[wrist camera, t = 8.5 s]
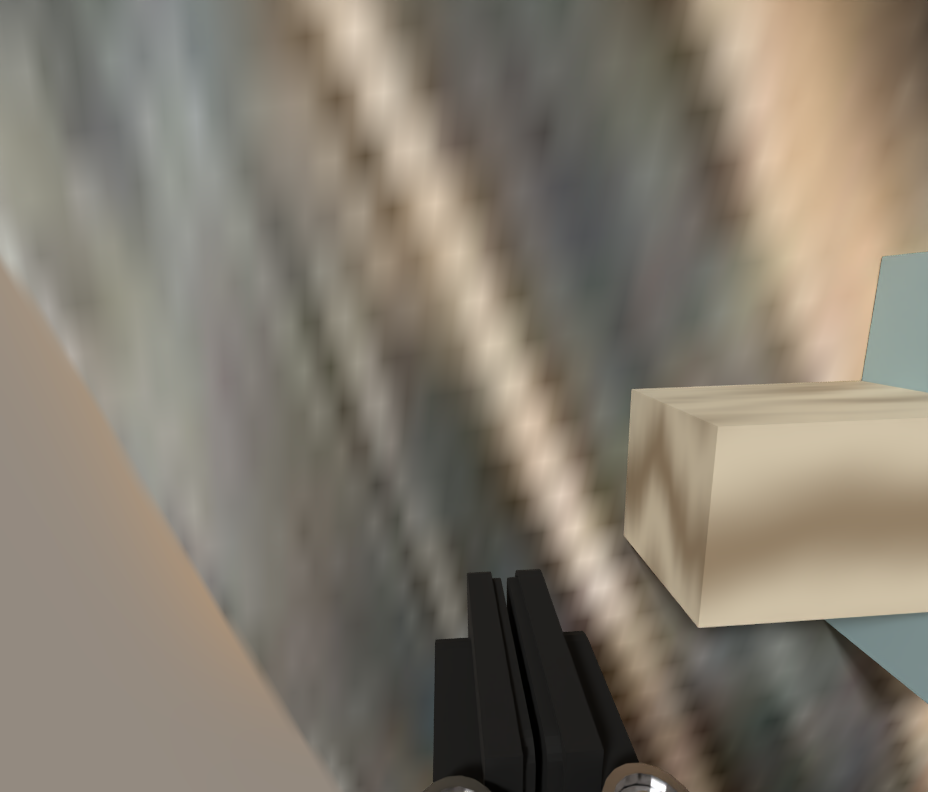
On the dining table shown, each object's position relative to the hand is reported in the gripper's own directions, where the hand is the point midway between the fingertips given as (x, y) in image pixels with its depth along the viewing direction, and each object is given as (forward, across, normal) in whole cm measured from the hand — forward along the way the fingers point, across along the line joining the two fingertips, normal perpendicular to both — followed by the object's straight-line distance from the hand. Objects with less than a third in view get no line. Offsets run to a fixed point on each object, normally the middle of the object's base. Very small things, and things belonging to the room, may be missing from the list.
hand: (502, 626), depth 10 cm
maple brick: (+12, -14, +2) cm, 19 cm away
